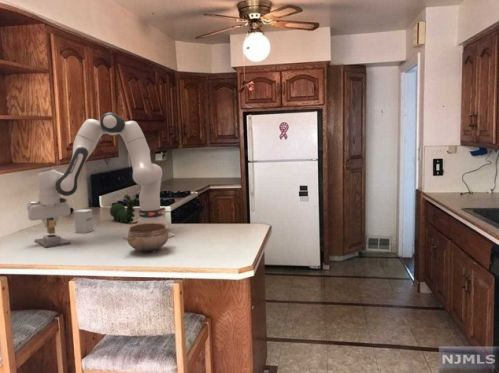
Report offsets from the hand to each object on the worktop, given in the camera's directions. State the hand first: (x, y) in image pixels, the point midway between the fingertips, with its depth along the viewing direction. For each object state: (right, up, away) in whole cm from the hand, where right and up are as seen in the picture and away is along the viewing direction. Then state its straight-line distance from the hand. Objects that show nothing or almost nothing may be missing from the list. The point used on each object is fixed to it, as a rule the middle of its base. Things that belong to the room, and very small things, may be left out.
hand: (50, 226), depth 224 cm
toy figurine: (+22, -2, +53) cm, 57 cm away
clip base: (0, -9, +1) cm, 9 cm away
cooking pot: (+56, -10, -21) cm, 61 cm away
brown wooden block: (0, -4, 0) cm, 4 cm away
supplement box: (+8, -6, +26) cm, 27 cm away
